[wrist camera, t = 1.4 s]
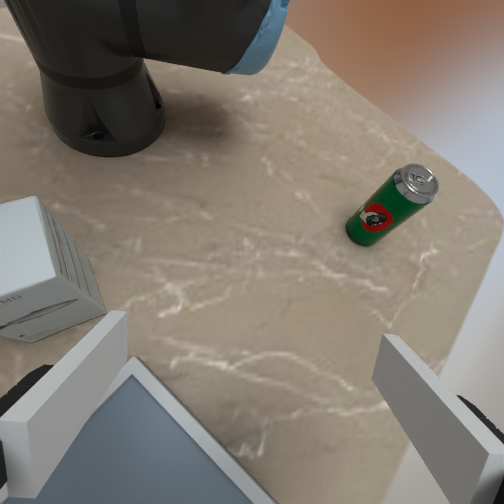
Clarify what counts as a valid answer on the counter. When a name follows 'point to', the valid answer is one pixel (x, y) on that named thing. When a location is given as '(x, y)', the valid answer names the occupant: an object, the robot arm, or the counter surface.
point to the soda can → (393, 203)
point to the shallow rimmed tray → (145, 453)
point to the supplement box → (41, 274)
